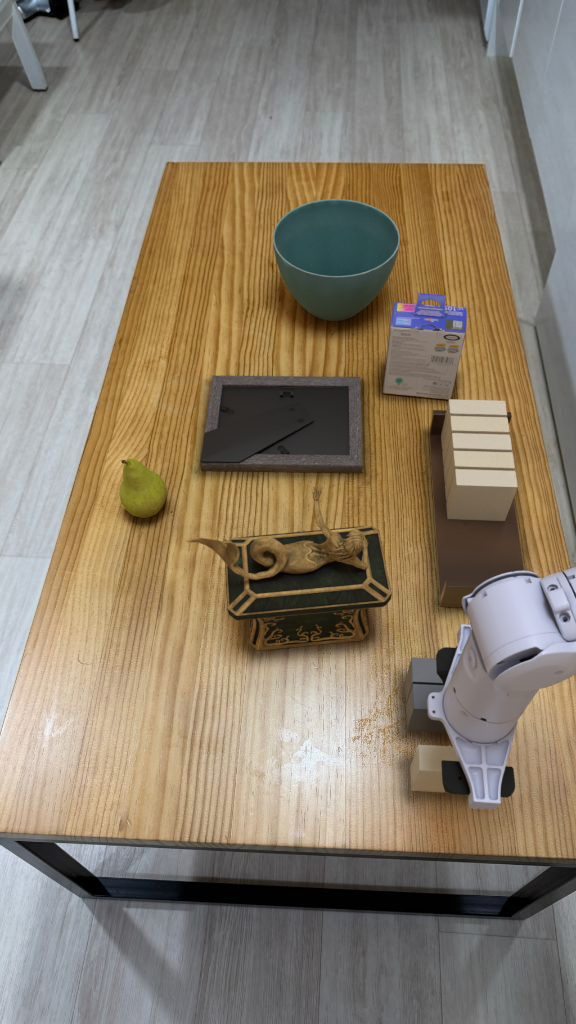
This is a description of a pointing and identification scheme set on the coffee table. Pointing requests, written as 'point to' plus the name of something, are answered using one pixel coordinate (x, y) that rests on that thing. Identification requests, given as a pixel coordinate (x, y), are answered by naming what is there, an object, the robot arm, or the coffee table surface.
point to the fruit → (141, 489)
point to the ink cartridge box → (424, 348)
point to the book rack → (467, 536)
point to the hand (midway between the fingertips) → (459, 744)
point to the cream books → (478, 460)
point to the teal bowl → (335, 255)
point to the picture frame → (283, 424)
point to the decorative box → (304, 583)
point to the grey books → (421, 695)
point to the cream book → (430, 767)
